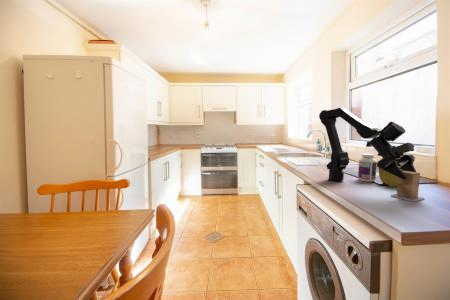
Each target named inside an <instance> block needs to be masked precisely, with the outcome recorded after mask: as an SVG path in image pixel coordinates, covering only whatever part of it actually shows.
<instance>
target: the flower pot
mask: <svg viewBox="0 0 450 300" xmlns="http://www.w3.org/2000/svg"><path fill="white" fill-rule="evenodd" d="M384 168H385V167H384ZM401 171H404V170H402V169H401ZM378 174H379V179H380V182H381V183H382V184H383V183H385V184H384V185H386V184H387V185H386V186H388V185H389V187H398V177H397V176H395V175H393V174H391V173H389V172H387V171H385V170H382V169H379V168H378Z"/></svg>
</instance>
